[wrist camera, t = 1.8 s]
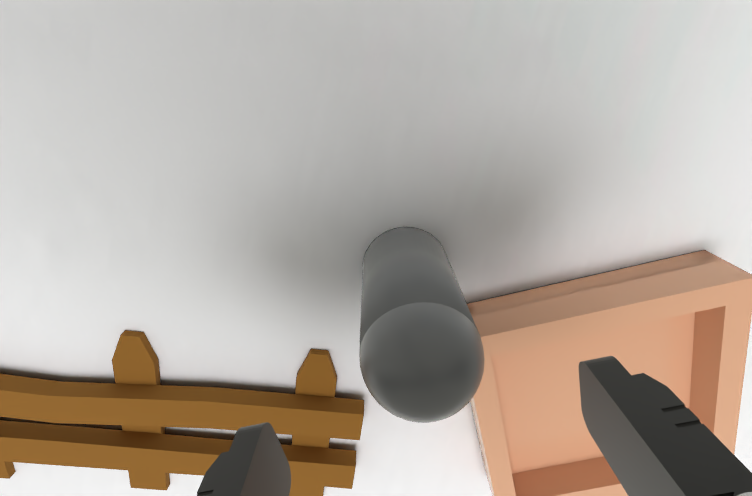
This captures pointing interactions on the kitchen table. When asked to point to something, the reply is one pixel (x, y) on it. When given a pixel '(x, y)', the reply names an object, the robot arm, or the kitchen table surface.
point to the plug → (416, 329)
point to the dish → (596, 340)
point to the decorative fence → (175, 422)
